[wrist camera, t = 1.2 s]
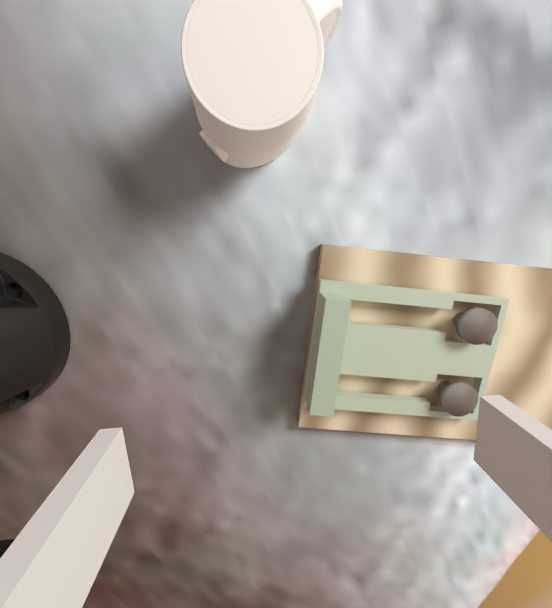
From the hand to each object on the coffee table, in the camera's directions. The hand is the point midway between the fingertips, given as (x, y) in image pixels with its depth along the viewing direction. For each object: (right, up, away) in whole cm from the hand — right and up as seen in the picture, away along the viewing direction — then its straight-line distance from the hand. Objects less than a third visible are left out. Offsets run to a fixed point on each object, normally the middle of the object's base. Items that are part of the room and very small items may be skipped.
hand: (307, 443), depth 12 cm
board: (+16, +1, +20) cm, 26 cm away
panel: (+10, +1, +18) cm, 21 cm away
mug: (-2, +22, +15) cm, 27 cm away
